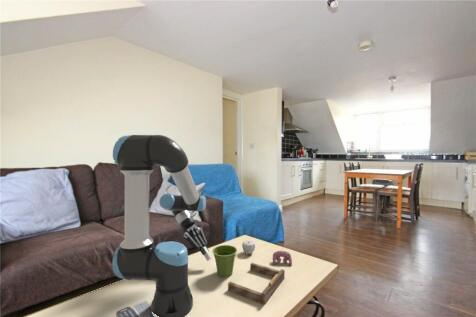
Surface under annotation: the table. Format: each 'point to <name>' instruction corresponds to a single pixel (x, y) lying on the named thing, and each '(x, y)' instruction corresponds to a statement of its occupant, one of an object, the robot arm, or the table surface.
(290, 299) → the table surface
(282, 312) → the table surface
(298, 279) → the table surface
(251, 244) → the apple
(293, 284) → the table surface
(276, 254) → the video game controller
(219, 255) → the plant pot
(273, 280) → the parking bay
